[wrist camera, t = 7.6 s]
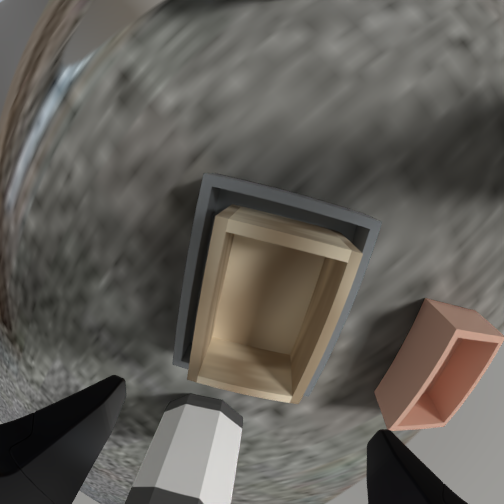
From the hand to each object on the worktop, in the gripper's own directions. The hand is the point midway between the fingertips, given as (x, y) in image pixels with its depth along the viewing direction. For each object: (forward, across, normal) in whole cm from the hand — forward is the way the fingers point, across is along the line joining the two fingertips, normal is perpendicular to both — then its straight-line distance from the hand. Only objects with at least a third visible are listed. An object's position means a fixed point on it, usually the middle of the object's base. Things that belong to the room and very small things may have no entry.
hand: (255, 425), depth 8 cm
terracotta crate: (+12, -16, +3) cm, 20 cm away
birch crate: (+11, 0, 0) cm, 11 cm away
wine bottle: (+12, +2, +16) cm, 20 cm away
